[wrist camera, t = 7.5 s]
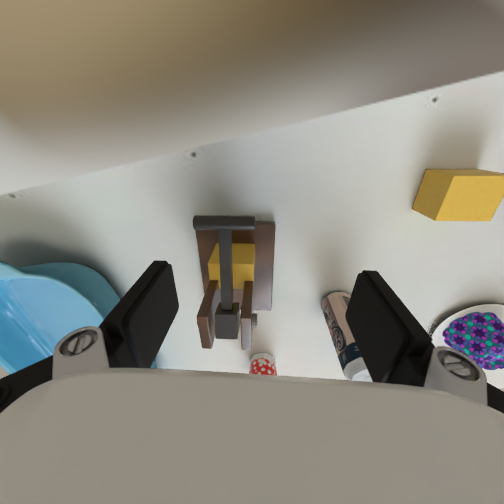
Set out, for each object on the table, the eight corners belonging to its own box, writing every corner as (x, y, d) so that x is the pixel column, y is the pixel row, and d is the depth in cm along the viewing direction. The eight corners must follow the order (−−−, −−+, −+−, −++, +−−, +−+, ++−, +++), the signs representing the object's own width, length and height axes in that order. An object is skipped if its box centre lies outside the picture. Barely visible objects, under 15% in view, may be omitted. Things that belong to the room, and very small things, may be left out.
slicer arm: (198, 213, 21) (190, 216, 18) (255, 214, 20) (254, 217, 18) (205, 324, 24) (199, 338, 21) (254, 325, 24) (254, 340, 21)
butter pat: (426, 169, 24) (454, 175, 20) (478, 169, 23) (516, 175, 20) (411, 209, 26) (434, 220, 22) (459, 209, 26) (490, 221, 22)
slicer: (197, 220, 28) (158, 272, 17) (274, 221, 27) (282, 274, 17) (208, 303, 34) (185, 376, 24) (270, 305, 34) (274, 379, 24)
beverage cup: (255, 346, 39) (251, 443, 27) (285, 356, 40) (294, 455, 28) (241, 364, 42) (233, 461, 29) (270, 374, 43) (273, 470, 30)
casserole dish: (-39, 247, 31) (-114, 276, 25) (100, 227, 29) (54, 254, 23) (90, 390, 49) (65, 428, 42) (184, 386, 46) (172, 425, 40)
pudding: (533, 313, 33) (577, 343, 28) (469, 360, 38) (497, 390, 34) (468, 290, 31) (504, 318, 26) (412, 342, 37) (433, 372, 32)
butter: (216, 242, 28) (207, 263, 23) (254, 243, 28) (253, 264, 23) (218, 265, 29) (210, 288, 25) (254, 266, 29) (253, 289, 25)
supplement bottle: (315, 297, 33) (340, 373, 22) (346, 284, 32) (387, 360, 21) (327, 317, 35) (355, 396, 24) (356, 306, 33) (399, 385, 23)
